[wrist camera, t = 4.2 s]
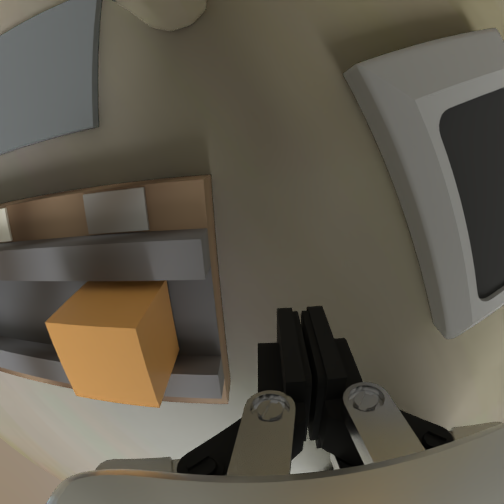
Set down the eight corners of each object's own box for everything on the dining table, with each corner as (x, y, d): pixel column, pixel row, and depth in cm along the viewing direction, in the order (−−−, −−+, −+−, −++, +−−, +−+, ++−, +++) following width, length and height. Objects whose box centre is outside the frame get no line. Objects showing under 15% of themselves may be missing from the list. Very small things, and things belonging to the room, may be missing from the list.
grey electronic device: (508, 22, 8) (561, 273, 12) (470, 36, 11) (529, 253, 15) (364, 56, 9) (457, 354, 13) (340, 75, 13) (430, 320, 17)
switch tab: (166, 278, 13) (135, 328, 9) (179, 349, 14) (159, 407, 11) (89, 279, 13) (44, 322, 10) (108, 345, 15) (76, 395, 11)
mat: (102, -7, 10) (98, -11, 10) (98, 126, 13) (93, 126, 13) (0, 40, 11) (-6, 38, 10) (-3, 156, 13) (-10, 157, 13)
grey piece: (210, 174, 14) (196, 184, 11) (230, 380, 18) (225, 423, 15) (-45, 214, 15) (-77, 228, 11) (-1, 353, 19) (-23, 377, 15)
